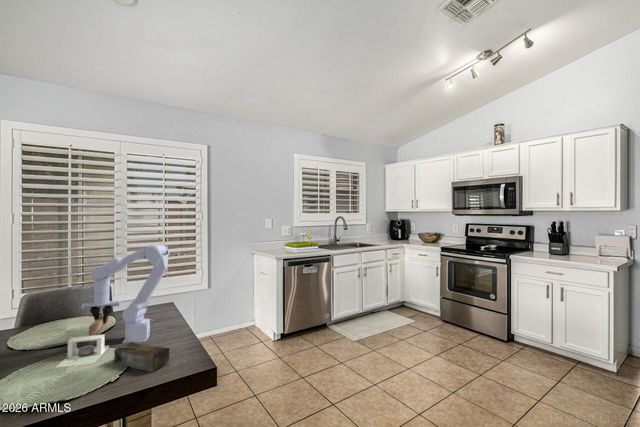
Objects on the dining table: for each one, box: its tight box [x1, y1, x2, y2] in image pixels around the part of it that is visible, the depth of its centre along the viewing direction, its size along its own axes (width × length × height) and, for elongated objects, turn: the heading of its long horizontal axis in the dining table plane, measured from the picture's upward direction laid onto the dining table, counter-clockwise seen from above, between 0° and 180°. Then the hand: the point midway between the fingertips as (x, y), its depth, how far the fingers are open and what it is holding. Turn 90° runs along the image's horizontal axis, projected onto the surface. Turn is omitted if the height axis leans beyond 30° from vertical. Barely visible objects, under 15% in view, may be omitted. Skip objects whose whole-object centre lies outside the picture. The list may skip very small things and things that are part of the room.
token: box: [78, 344, 95, 357], centre depth 124 cm, size 5×5×2 cm
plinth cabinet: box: [67, 334, 106, 358], centre depth 124 cm, size 11×4×7 cm, turn 107°
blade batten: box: [88, 313, 110, 336], centre depth 136 cm, size 2×16×5 cm, turn 17°
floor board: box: [54, 344, 111, 368], centre depth 122 cm, size 12×17×1 cm
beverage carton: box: [113, 342, 170, 373], centre depth 117 cm, size 8×19×7 cm, turn 72°
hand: (101, 323), depth 138 cm, fingers closed on blade batten, 2 cm apart
